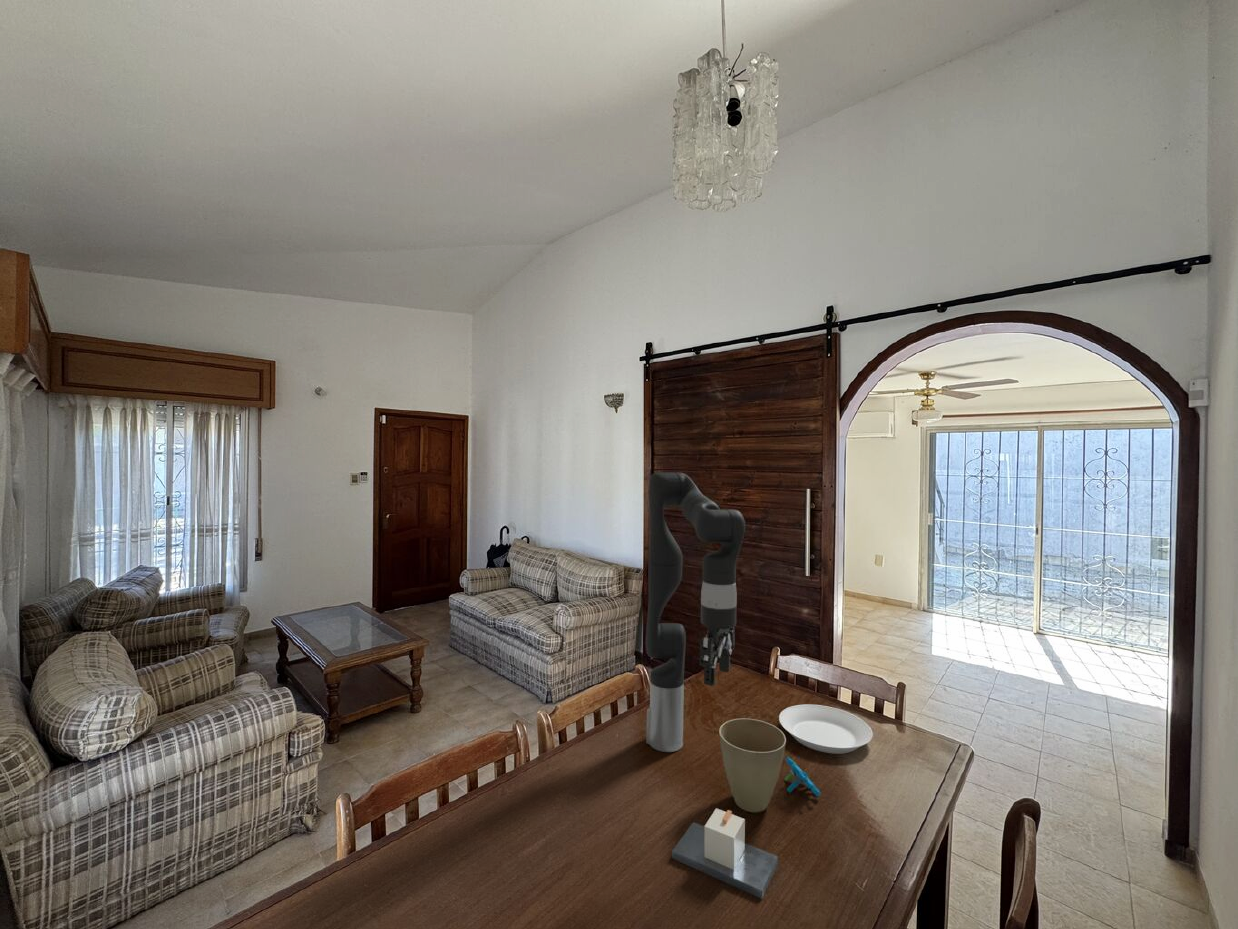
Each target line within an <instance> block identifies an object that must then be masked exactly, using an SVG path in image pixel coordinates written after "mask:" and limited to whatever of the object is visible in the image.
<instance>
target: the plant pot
mask: <svg viewBox="0 0 1238 929" xmlns="http://www.w3.org/2000/svg"><path fill="white" fill-rule="evenodd" d="M718 731H719V732H718V733H719V741H720V742H719V743H720V749H721V756H722V760H723V765H724V770H725V774H726V778H727V781H728V785H729V788H730V792H731V794H732V798H733V799H734V803H735V805H737V807H739V808H740V809H741V810H743V811H746V812H750V813H761V812H764V811H765V810H766V809H767V808H768V805H769V803H770V801H771V799H772V796H773V793H774V792H775V788H776V787H777V786H776V785H777V782H778V779H779V776H780V774H781V772H780V771H781V769H782V764H783V759H784V755H785V750H786V749H785V748H786V743H787V738H786V735H785V734H784V732H783V731H782V730H781V729H779V728H778V727H777V726H775V725H774V724H772V723H769V722H766V721H763V720H759V719H755V718H744V717H743V718H734V719H730V720H727V721H726V722H724V723H723V724H721V726H720V727H719V730H718Z"/></svg>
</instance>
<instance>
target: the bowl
mask: <svg viewBox="0 0 1238 929" xmlns="http://www.w3.org/2000/svg"><path fill="white" fill-rule="evenodd" d="M778 721H779V724H780V725H781V726H782V727H783V728H784V729H785V731H787V732H788V733H789V734H790V736H791V737H793V739H794V740H796V741H797V742H798V743H800V744H801V745H802V746H804V747H807V748H809V749H811V750H815V751H817V752H821V753H827V754H847V753H852V752H854V751H855V750H857V749H859V748H861V747H862V746H864V745H866V744H867V743H869V742H870V741H871V740H872V739H873V735H874V734H873V733H874V732H873V730H872V728H871V726H869V724H867V723H866V722H865V721H864V720H863V719H861V718H859V717H858V716H856V715H854V714H852V713H851V712H848V711H845V710H842V709H840V708H835V707H831V706H827V705H821V704H797V705H796V704H795V705H791V706H788V707H785V709H783V710H782V711H780V713H779V715H778Z"/></svg>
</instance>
